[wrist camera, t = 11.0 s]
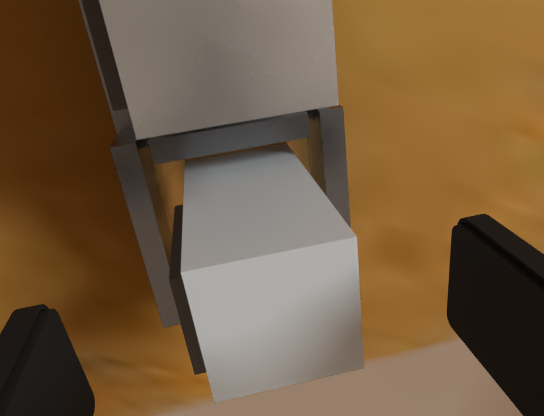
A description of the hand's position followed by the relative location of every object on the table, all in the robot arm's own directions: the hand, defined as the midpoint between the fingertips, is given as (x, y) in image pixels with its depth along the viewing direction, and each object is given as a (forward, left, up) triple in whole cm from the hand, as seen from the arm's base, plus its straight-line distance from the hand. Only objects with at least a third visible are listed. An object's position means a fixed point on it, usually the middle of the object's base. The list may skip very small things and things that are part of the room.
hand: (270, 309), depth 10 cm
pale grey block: (+1, 0, -8) cm, 8 cm away
